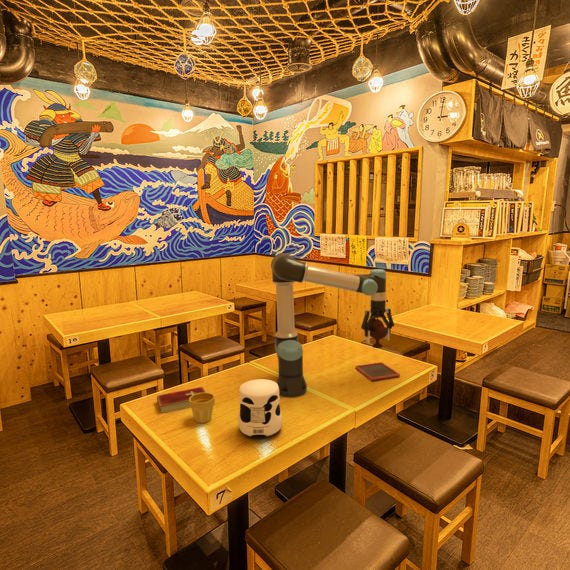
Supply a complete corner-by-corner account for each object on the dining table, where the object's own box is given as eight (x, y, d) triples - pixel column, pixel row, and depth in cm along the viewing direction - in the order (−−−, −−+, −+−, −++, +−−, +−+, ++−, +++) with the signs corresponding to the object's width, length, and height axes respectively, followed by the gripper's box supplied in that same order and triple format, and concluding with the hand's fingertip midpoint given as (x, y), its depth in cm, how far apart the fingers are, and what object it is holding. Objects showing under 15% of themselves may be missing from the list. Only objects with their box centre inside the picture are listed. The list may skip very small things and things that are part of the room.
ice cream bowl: (390, 349, 201) (391, 321, 198) (368, 350, 201) (368, 321, 199) (385, 343, 211) (386, 315, 209) (364, 343, 212) (365, 316, 209)
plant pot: (204, 410, 173) (203, 389, 171) (220, 417, 166) (219, 396, 165) (185, 420, 165) (183, 398, 163) (201, 428, 158) (199, 405, 157)
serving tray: (371, 381, 198) (371, 378, 198) (355, 368, 215) (355, 365, 215) (399, 377, 203) (399, 374, 202) (381, 365, 220) (381, 362, 219)
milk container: (266, 414, 168) (265, 374, 165) (291, 431, 154) (290, 388, 151) (230, 428, 158) (228, 385, 155) (253, 447, 144) (251, 401, 141)
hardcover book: (157, 403, 182) (156, 394, 181) (202, 394, 190) (202, 385, 190) (160, 414, 171) (159, 405, 170) (208, 404, 180) (208, 395, 179)
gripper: (361, 303, 195) (360, 345, 199) (402, 299, 202) (401, 340, 205) (354, 300, 202) (354, 341, 206) (394, 296, 209) (393, 336, 213)
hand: (377, 341), depth 206 cm, fingers closed on ice cream bowl, 11 cm apart
